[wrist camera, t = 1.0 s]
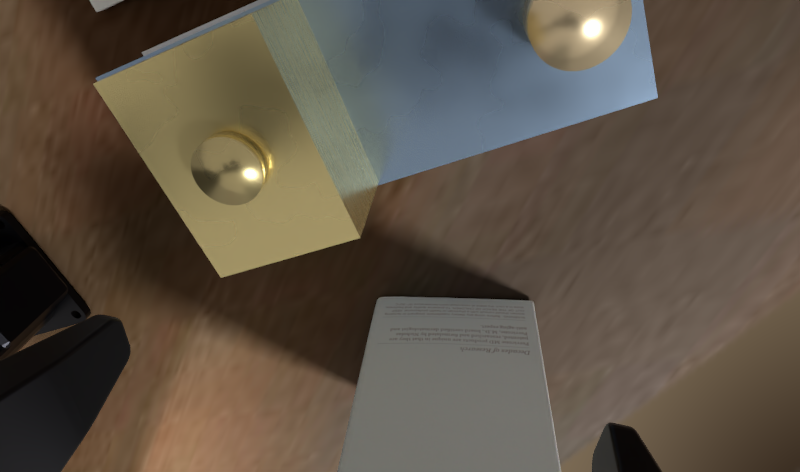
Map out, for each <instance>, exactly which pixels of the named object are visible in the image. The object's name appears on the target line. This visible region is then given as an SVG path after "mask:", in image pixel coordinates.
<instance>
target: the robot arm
mask: <svg viewBox="0 0 800 472" xmlns="http://www.w3.org/2000/svg"><path fill="white" fill-rule="evenodd" d="M90 314H91V312H90V309H89V307H88V306H87V305H86V304H85V303H84V301H83V300H82V299H81V298H80V297H79V295H78V294H77V293H76V292H75V291H74V289H73V288H72V287H71V286H70V284H69V283H68V282H67V281H66V280H65V278H64V277H63V276H62V275H61V274H60V272H59V271H58V270H57V269H56V268H55V266H54V265H53V264H52V263H51V262H50V260H49V259H48V258H47V257H46V256H45V254H44V253H43V252H42V251H41V250H40V248H39V247H38V246H37V245H36V243H35V242H34V241H33V240H32V239H31V237H30V236H29V235H28V234H27V233H26V231H25V230H24V229H23V228H22V227H21V225H20V224H19V223H18V222H17V221H16V219H15V218H14V217H13V216H12V215H11V214H10V213H8V212H6V211H2V210H1V211H0V472H61V471H62V469H63V468H64V466H65V465H66V464H67V462H68V461H69V459H70V458H71V456H72V455H73V453H74V452H75V450H76V449H77V448H78V446H79V445H80V443H81V442H82V440H83V439H84V437H85V436H86V434H87V432H88V431H89V429H90V428H91V426H92V424H93V422H94V421H95V419H96V417H97V416H98V414H99V412H100V410H101V408H102V406H103V405H104V403H105V401H106V399H107V397H108V396H109V394H110V392H111V390H112V388H113V387H114V385H115V383H116V381H117V379H118V378H119V376H120V374H121V372H122V370H123V369H124V367H125V365H126V363H127V361H128V359H129V356H130V344H129V341H128V338H127V336H126V333H125V330H124V327H123V324H122V322H121V320H120V319H118V318H116V317H111V316H107V315H95V316H93V317H90V318H88V317H89V316H90ZM87 318H88V319H87ZM77 323H78V324H77ZM74 324H76V325H74ZM70 325H74V326H71V327H69V328H67V329H65V330H63V331H61V332H59V333H57V334H55V335H53V336H50V337H48V338H46V339H44V340H42V341H40V342H38V343H36V344H34V345H32V346H29V347H27V348H25V349H23V350H21V351H19V350H20V349H21V348H22V347H23V346H24V345H25V344H26V343H27V342H28V341H29V340H30V339H31V338H32V337H33V336H35V335H38V334H42V333H45V332H49V331H52V330H56V329H59V328H63V327H67V326H70ZM18 351H19V352H18ZM592 472H662V471H661V469H660V467H659V466H658V464H657V463H656V461H655V460H654V458H653V457H652V455H651V453H650V452H649V450H648V449H647V447H646V445H645V444H644V442H643V441H642V440H641V438H640V436H639V434H638V433H637V432H636V430H635V429H633V428H632V427H629V426H625V425H621V424H616V423H608V424H607V425H606V426H605V428H604V430H603V432H602V434H601V437H600V439H599V441H598V444H597V446H596V448H595V450H594V454H593V460H592Z"/></svg>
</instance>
